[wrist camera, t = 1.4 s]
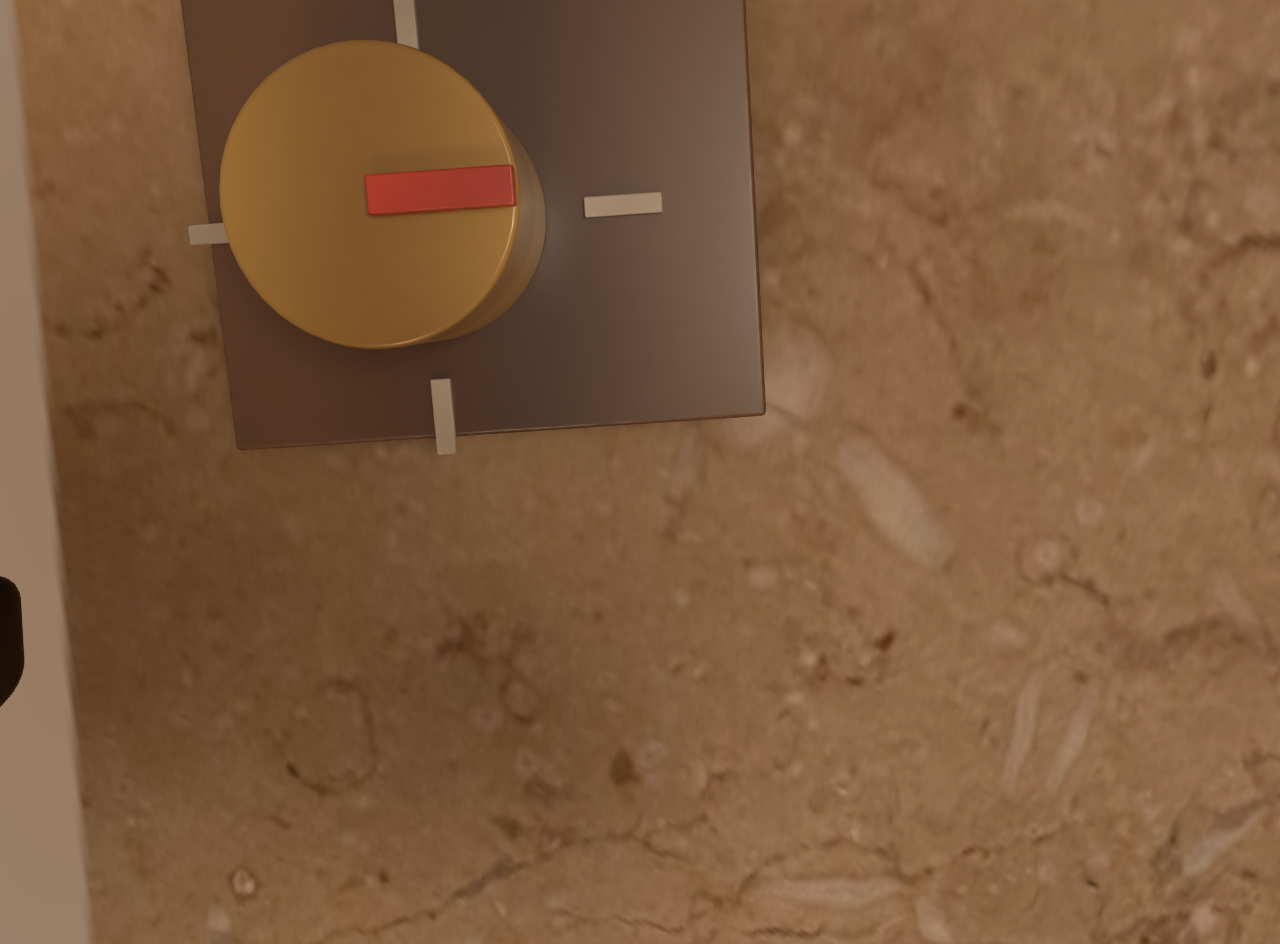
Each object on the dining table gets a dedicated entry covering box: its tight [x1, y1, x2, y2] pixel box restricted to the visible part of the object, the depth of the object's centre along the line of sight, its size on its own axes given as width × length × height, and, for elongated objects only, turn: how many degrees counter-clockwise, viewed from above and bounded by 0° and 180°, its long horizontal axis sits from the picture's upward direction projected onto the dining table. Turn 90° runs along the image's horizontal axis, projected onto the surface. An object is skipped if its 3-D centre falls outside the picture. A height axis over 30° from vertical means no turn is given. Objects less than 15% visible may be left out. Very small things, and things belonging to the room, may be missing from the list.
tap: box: [219, 39, 546, 349], centre depth 17 cm, size 4×4×4 cm
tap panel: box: [181, 0, 766, 455], centre depth 21 cm, size 10×10×3 cm
